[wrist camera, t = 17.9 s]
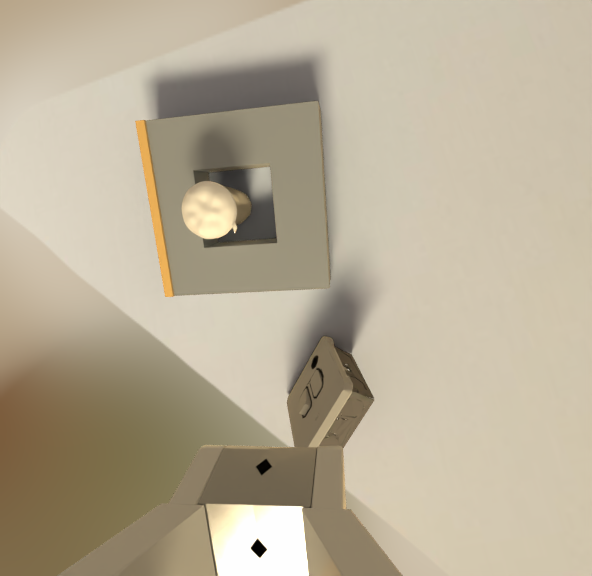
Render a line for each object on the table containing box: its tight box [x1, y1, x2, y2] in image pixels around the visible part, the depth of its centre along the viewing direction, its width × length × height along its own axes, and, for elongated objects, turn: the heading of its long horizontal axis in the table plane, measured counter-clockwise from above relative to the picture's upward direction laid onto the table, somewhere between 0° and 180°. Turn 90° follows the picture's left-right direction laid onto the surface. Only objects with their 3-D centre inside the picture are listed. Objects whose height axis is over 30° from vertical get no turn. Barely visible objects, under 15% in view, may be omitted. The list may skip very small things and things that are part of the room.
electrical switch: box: [287, 336, 374, 448], centre depth 37 cm, size 9×5×9 cm, turn 154°
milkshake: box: [182, 181, 252, 239], centre depth 33 cm, size 4×5×10 cm
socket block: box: [135, 101, 331, 297], centre depth 36 cm, size 16×16×4 cm
